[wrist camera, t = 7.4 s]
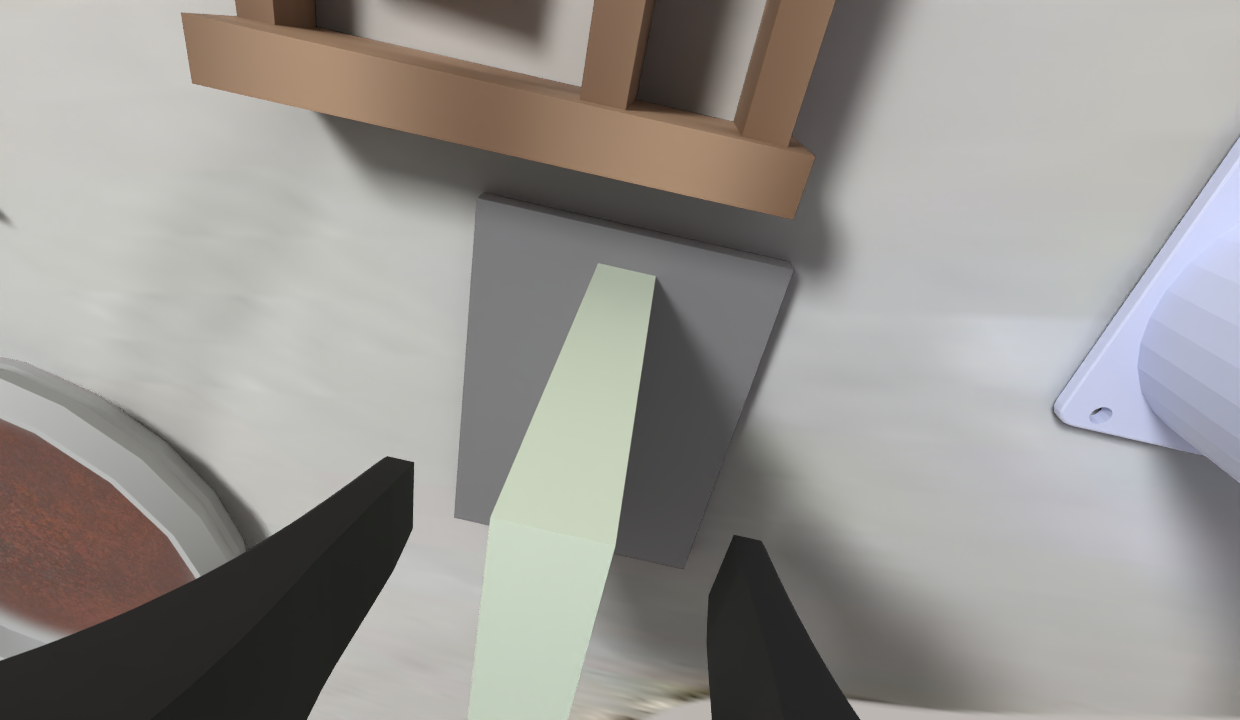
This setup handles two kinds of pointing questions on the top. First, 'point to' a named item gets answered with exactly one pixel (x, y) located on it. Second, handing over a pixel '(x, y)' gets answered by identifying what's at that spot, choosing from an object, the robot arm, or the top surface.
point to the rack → (539, 97)
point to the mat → (671, 372)
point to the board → (561, 511)
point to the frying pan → (92, 512)
